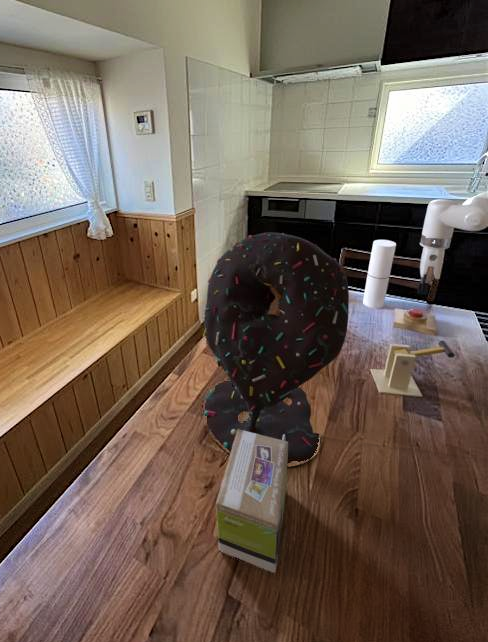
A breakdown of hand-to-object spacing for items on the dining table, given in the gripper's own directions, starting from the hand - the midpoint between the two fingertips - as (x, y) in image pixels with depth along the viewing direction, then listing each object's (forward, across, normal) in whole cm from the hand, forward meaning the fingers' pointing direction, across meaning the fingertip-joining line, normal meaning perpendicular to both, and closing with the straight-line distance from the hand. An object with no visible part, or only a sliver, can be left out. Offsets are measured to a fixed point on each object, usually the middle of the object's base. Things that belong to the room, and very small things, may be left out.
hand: (423, 293), depth 111 cm
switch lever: (+2, -34, +1) cm, 34 cm away
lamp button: (+9, 0, +1) cm, 9 cm away
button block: (+12, 0, +1) cm, 12 cm away
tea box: (+12, -85, +27) cm, 90 cm away
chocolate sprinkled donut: (+12, -60, +34) cm, 70 cm away
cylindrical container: (+12, +10, +14) cm, 21 cm away
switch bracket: (+12, -35, +6) cm, 38 cm away
